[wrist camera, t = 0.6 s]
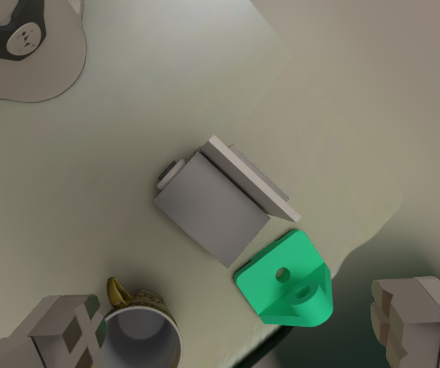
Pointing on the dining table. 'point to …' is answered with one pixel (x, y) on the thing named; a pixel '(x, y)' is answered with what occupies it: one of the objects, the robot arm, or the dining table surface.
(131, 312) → the ceramic cup
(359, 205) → the dining table surface
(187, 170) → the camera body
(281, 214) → the side door
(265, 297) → the camera mount
